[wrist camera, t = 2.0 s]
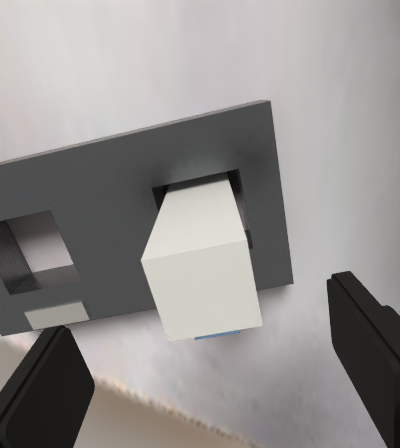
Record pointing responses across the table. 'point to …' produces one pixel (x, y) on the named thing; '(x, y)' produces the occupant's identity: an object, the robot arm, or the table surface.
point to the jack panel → (132, 212)
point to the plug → (201, 262)
